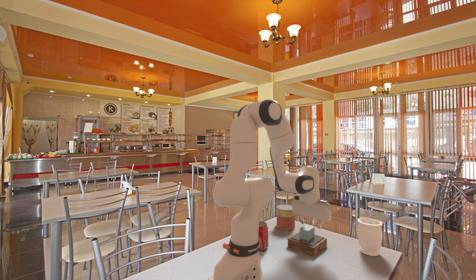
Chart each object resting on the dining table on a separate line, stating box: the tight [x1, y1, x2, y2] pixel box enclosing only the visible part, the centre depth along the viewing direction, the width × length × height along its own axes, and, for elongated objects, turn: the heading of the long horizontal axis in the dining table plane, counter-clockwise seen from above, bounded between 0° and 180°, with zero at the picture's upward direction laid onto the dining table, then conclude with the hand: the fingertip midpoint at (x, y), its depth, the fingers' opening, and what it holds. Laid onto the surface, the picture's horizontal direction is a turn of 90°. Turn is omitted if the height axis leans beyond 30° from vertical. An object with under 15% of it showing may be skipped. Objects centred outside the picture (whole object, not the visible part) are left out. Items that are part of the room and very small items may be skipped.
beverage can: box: [258, 220, 269, 251], centre depth 113 cm, size 8×8×12 cm
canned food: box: [276, 204, 296, 231], centre depth 140 cm, size 11×11×12 cm
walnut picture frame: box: [287, 231, 328, 257], centre depth 114 cm, size 14×14×4 cm
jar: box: [356, 217, 383, 257], centre depth 109 cm, size 11×10×15 cm
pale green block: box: [299, 224, 316, 241], centre depth 114 cm, size 4×7×5 cm, turn 136°
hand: (311, 225), depth 112 cm, fingers open, 8 cm apart
